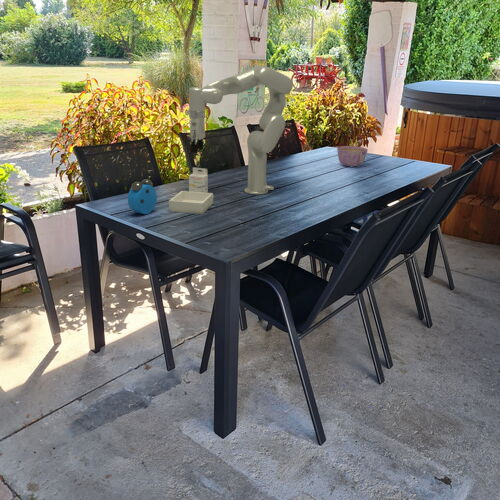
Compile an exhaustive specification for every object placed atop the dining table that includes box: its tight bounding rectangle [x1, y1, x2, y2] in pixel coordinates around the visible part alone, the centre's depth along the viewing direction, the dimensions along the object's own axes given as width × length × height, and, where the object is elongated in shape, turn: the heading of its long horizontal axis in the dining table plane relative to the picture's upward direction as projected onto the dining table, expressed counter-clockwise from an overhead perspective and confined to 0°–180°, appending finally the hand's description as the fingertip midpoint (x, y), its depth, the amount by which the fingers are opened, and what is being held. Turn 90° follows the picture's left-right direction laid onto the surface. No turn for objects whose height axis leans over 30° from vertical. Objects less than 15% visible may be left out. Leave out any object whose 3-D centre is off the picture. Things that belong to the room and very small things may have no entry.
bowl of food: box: [336, 145, 368, 167], centre depth 331 cm, size 20×20×12 cm
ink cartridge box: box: [188, 166, 209, 193], centre depth 248 cm, size 9×5×15 cm, turn 71°
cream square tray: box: [168, 190, 214, 215], centre depth 234 cm, size 16×18×5 cm
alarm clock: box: [127, 178, 158, 215], centre depth 222 cm, size 13×6×15 cm, turn 151°
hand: (197, 150), depth 242 cm, fingers open, 9 cm apart
